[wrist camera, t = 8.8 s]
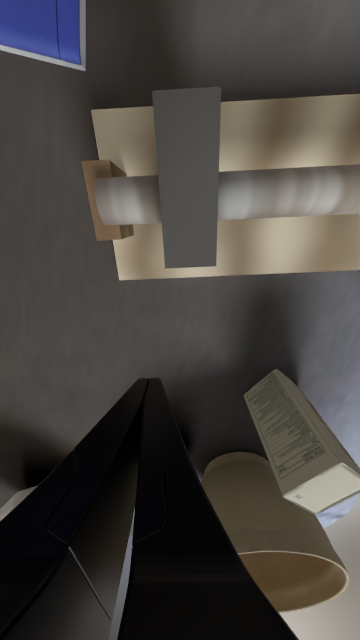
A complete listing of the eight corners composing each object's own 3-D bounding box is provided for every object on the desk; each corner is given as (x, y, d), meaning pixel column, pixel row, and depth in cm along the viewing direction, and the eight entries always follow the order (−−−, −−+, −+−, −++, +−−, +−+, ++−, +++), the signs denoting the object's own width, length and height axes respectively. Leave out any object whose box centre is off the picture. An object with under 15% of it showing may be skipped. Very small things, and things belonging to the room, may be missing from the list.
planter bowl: (244, 413, 26) (283, 533, 16) (316, 470, 30) (380, 589, 21) (156, 471, 31) (145, 589, 21) (230, 512, 35) (248, 624, 26)
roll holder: (435, 93, 14) (591, 16, 8) (376, 267, 18) (452, 286, 13) (94, 114, 14) (44, 52, 9) (121, 278, 19) (98, 300, 14)
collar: (202, 146, 14) (221, 86, 8) (202, 248, 17) (216, 266, 10) (165, 149, 14) (152, 90, 8) (170, 250, 17) (165, 268, 10)
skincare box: (266, 411, 26) (313, 517, 16) (241, 393, 24) (277, 497, 15) (302, 386, 24) (377, 489, 15) (277, 365, 23) (342, 463, 14)
